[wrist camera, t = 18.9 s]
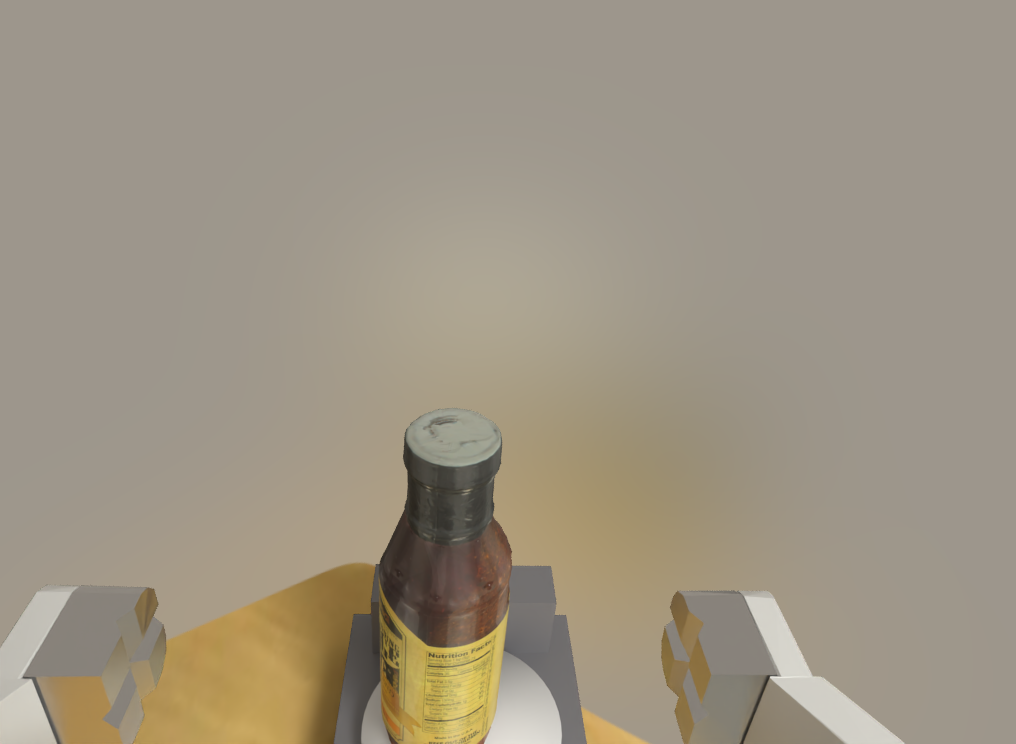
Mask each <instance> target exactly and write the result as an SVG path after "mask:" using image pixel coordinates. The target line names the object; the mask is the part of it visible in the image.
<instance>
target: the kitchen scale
mask: <svg viewBox="0 0 1016 744" xmlns="http://www.w3.org/2000/svg"><path fill="white" fill-rule="evenodd" d="M379 565H380V564H376V567H375V575H374V582H373V590H372V598H371V614H354V616H353V622H352V629H351V635H350V642H349V648H348V654H347V661H346V667H345V674H344V680H343V687H342V693H341V700H340V706H339V713H338V719H337V726H336V732H335V739H334V744H391V742H390V740H389V736H388V733H387V730H386V727H385V724H384V722H383V719H382V713H381V678H380V631H379ZM509 588H510V596H509V610H508V619H507V627H506V635H505V643H504V651H503V659H502V667H501V675H500V683H499V691H498V698H497V708H496V713H495V717H494V720H493V723H492V725H491V728H490V730H489V734H488V736H487V738H486V740H485V742H484V744H587V742H586V736H585V730H584V724H583V718H582V711H581V705H580V699H579V693H578V687H577V681H576V674H575V668H574V662H573V655H572V649H571V643H570V637H569V631H568V625H567V618H566V615H555V609H556V597H555V590H554V584H553V577H552V570H551V566H512V570H511V576H510V580H509Z"/></svg>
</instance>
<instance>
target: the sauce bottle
mask: <svg viewBox="0 0 1016 744" xmlns="http://www.w3.org/2000/svg"><path fill="white" fill-rule="evenodd" d="M501 452H502V438H501V432H500V430H499V428H498V427H497V426H496V424H495V423H494V422H493V421H491V420H489V419H487V418H486V417H484V416H483V415H481V414H479V413H477V412H474V411H470V410H465V409H458V408H447V409H438V410H435V411H432V412H429V413H427V414H424V415H422V416H421V417H419V418H418V419H416V420H415V421H413V422H412V423H411V424H410V426H409V427H408V428H407V429H406V432H405V439H404V454H403V459H404V464H405V467H406V469H407V471H408V491H407V500H406V504H405V510H404V512H403V514H402V516H401V518H400V520H399V522H398V525H397V527H396V529H395V531H394V533H393V535H392V538H391V540H390V542H389V544H388V546H387V548H386V550H385V552H384V554H383V556H382V558H381V561H380V565H379V631H380V678H381V713H382V719H383V722H384V724H385V727H386V730H387V733H388V736H389V740H390V742H391V744H484V742H485V740H486V738H487V736H488V734H489V730H490V728H491V725H492V723H493V720H494V717H495V713H496V708H497V698H498V691H499V683H500V675H501V667H502V659H503V651H504V643H505V635H506V627H507V619H508V610H509V596H510V588H509V580H510V576H511V570H512V565H511V564H512V560H511V553H512V551H511V548H510V545H509V543H508V540H507V537H506V535H505V533H504V532H503V529H502V527H501V526H500V525H499V523H498V522H497V521H496V520H495V519H494V517H493V511H494V503H493V489H494V478H495V475H496V474H497V472H498V470H499V467H500V464H501Z"/></svg>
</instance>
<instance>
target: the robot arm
mask: <svg viewBox="0 0 1016 744" xmlns="http://www.w3.org/2000/svg"><path fill="white" fill-rule="evenodd" d="M157 607H158V601H157V597H156V594H155V591H154V589H151V588H146V587H114V586H84V585H81V586H70V585H46V586H44V587H43V588H42V589H40V590H39V591H38V592H37V593H35V595H34V596H33V598H32V599H31V601H30V602H29V604H28V605H27V607H26V609H25V610H24V612H23V613H22V615H21V616H20V618H19V619H18V621H17V622H16V624H15V625H14V627H13V628H12V630H11V631H10V633H9V634H8V636H7V638H6V639H5V641H4V642H3V644H2V645H1V647H0V744H133V742H134V740H135V737H136V735H137V732H138V730H139V727H140V725H141V723H142V720H143V718H144V712H143V708H142V704H141V700H142V699H143V698H144V697H145V696H147V695H148V694H149V693H150V692H151V691H153V690H154V689H155V688H156V686H157V683H158V680H159V678H160V675H161V673H162V670H163V664H164V659H165V654H166V634H165V629H164V625H163V624H162V623H161V622H159V621H158V620H157V619H156V618H155V617H153V616H154V613H155V611H156V609H157ZM670 609H671V612H672V615H673V618H674V619H673V620H672V621H671V622H670V623H668V624H667V625H666V626H665V628H664V633H663V638H662V656H661V658H662V665H663V671H664V675H665V679H666V683H667V686H668V687H669V688H670V689H671V690H672V691H673V692H674V693H675V694H676V695H677V696H678V697H679V698H678V702H677V705H676V708H675V714H676V718H677V722H678V725H679V728H680V732H681V736H682V739H683V742H684V744H905V743H904V742H902V741H901V740H900V739H899V738H897V737H896V736H895V735H894V734H893V733H891V732H890V731H889V730H887V729H886V728H885V727H884V726H883V725H881V724H880V723H879V722H878V721H876V720H875V719H874V718H873V717H871V716H870V715H869V714H868V713H867V712H865V711H864V710H863V709H861V708H860V707H859V706H858V705H857V704H855V703H854V702H853V701H852V700H850V699H849V698H848V697H846V696H845V695H844V694H843V693H842V692H840V691H839V690H838V689H837V688H836V687H834V686H833V685H832V684H831V683H829V682H828V681H827V680H826V679H824V678H823V677H820V676H812V674H811V672H810V669H809V668H808V666H807V663H806V661H805V660H804V657H803V655H802V653H801V651H800V649H799V647H798V645H797V643H796V641H795V639H794V637H793V635H792V633H791V631H790V629H789V627H788V625H787V623H786V621H785V619H784V617H783V615H782V613H781V611H780V609H779V607H778V605H777V603H776V601H775V599H774V597H773V595H772V594H770V593H769V592H768V591H737V592H736V591H677V592H676V594H675V595H674V596H673V599H672V602H671V606H670Z"/></svg>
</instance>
